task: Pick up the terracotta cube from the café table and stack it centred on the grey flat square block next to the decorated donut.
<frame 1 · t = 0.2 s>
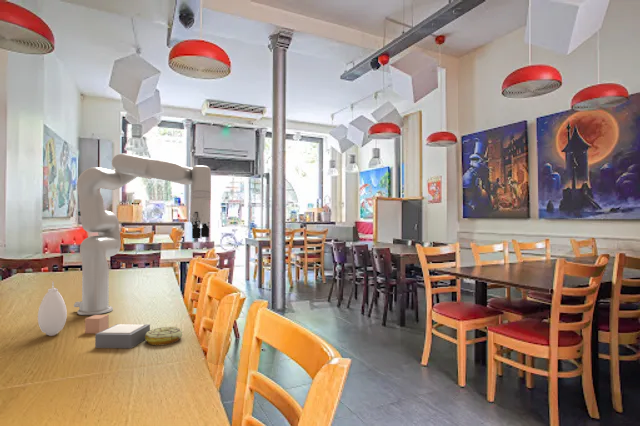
hand: (200, 237, 153), 31 cm above the table, tool pointing down, fingers open, 9 cm apart
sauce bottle: (52, 335, 124), on the table
grey flat square block: (123, 342, 117), on the table
decorated donut: (164, 341, 118), on the table
terracotta cube: (96, 331, 129), on the table
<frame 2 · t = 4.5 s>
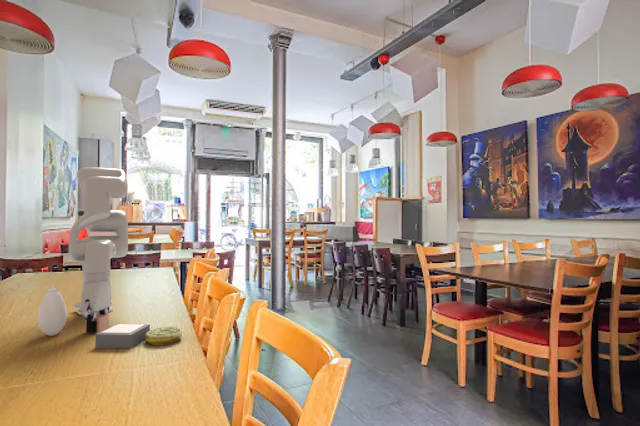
hand: (96, 329, 129), 0 cm above the table, tool pointing down, fingers closed on terracotta cube, 5 cm apart
terracotta cube: (97, 331, 129), on the table, touching gripper
everything else where it was.
when the fingers open (6 cm above the table, at t = 8.9 s): terracotta cube stays where it is, resting on grey flat square block.
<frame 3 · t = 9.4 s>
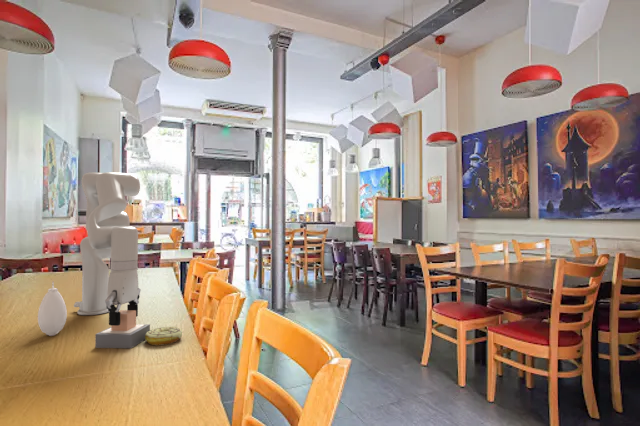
hand: (123, 320, 117), 7 cm above the table, tool pointing down, fingers open, 9 cm apart
terracotta cube: (123, 328, 117), point 4 cm above the table, touching grey flat square block
everything else where it was.
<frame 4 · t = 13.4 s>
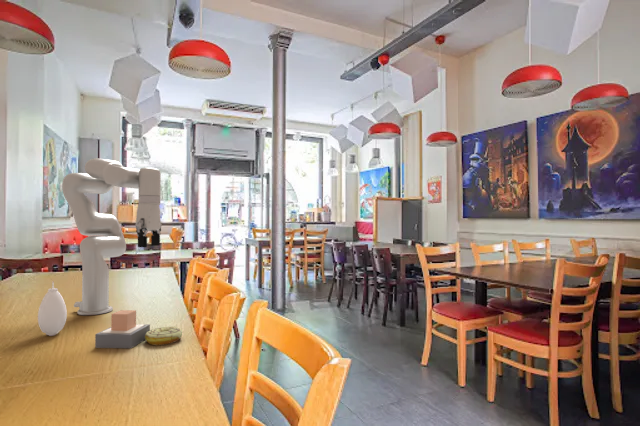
hand: (149, 246, 141), 28 cm above the table, tool pointing down, fingers open, 9 cm apart
nothing on the table moved.
at the end: terracotta cube inside the target area on the grey flat square block (0.1 cm from its centre), point 4.2 cm above the grey flat square block's base; terracotta cube tilted 0°; the gripper is holding nothing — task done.
